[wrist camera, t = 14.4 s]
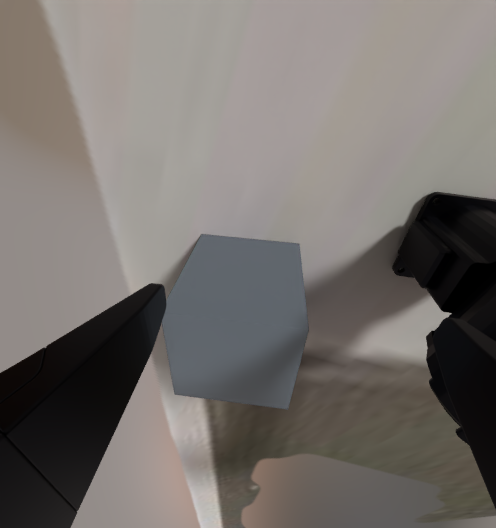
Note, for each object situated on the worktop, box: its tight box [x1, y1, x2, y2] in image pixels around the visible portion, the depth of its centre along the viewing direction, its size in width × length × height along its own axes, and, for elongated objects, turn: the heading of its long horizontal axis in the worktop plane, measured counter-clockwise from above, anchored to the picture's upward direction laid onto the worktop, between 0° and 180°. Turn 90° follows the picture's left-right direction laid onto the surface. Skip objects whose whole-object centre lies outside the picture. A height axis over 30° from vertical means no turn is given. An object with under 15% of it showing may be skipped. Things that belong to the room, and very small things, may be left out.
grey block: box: [162, 234, 309, 409], centre depth 20 cm, size 8×8×9 cm
